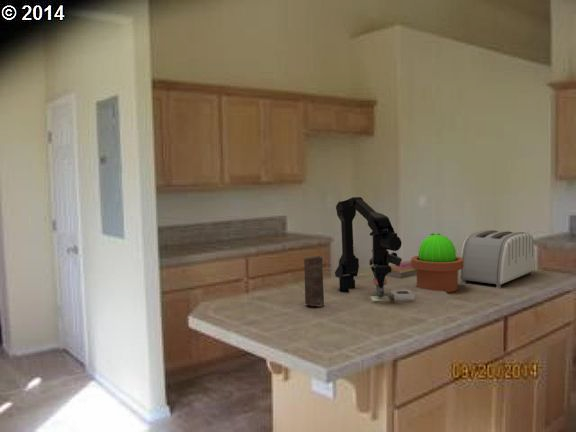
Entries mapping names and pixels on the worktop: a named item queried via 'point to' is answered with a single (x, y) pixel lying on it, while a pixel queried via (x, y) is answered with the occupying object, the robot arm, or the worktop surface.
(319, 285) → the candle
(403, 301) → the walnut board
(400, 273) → the flat patterned box
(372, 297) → the rubber pad
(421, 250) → the potted cactus
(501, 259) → the toaster
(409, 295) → the block
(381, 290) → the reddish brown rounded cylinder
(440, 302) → the worktop surface
